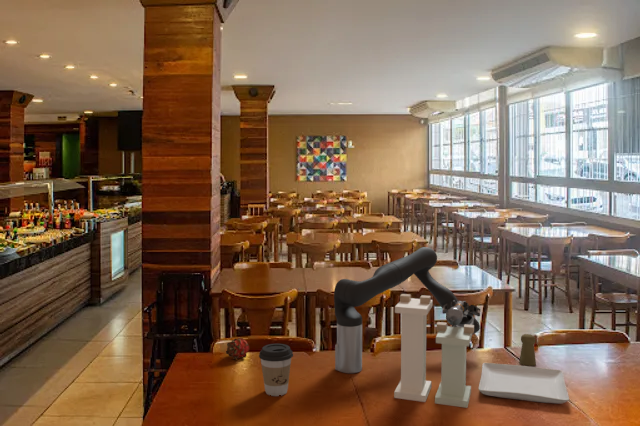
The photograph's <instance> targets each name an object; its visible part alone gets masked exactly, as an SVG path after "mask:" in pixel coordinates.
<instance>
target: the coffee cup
mask: <svg viewBox="0 0 640 426" xmlns="http://www.w3.org/2000/svg"><path fill="white" fill-rule="evenodd" d="M258 354H259V355H258V358H259V359H260V363H261V369H262V370H261V372H262V377H263V385H264V391H265V393H266V395H268V396H270V395H271V397H280V396H279V395H281V396H284V395H286V394H287V393H288V390H289V381H290V372H291V365H292V363H291V362H292V358H293V357H294V352H293V350H292V349H291V347H290V346H289V345H288V344H285V343H269V344H266V345H264V346H263V347H261V350H260V351H259V353H258Z"/></svg>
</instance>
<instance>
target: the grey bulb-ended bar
mask: <svg viewBox="0 0 640 426" xmlns="http://www.w3.org/2000/svg"><path fill="white" fill-rule="evenodd" d="M463 303H464V301H463V300H458V302H457V303H456V305H455V306H454V307H451V308H450V309H449V310H448V312H447V314H446V313H445V320H446V321H447V322H446V323H447V324H450V325H451V326H452V325H458V324H460V323H461V321H462V318H463V310H464V308H463Z"/></svg>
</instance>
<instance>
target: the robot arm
mask: <svg viewBox="0 0 640 426" xmlns="http://www.w3.org/2000/svg"><path fill="white" fill-rule="evenodd" d="M437 261H438V255H437V252H436V251H435V250H434V249H433V248H432V247H427V246H422V247H420V248H418V249H416V250H415V251H414V252H412V253H410V254H408V255H406V256H404V257H401V258H398V259H395V260H393V261H391V262H388V263H385V264H383V265H381V266H378V267H377V269H375V271H374V272H373V275H372V277H370V278H367V279H364V280H361V281H360V280H359V281H358V280H353V279H348V278H342V279H340V280H338V281H337V283H336V284H335V285H334V286H335V287H334V290H333V291H334V292H333V302H334V303H333V304H334V314H335V315H334V316H335V318H336V343H335V346H334V361H335V363H334V365H335V366H334V367H335V368H334V369H335V371H339V372H340V373H344V374H356V373H359V372H361V371H362V370H363V316H362V315H361V314H360V313H359V312H358V311H357V310H356V308H357V307H360V306H362V305H364V304H366V303H367V302H368V301H370V300H371V299H373V298H374V297H376V296H377V295H380V294H382V293H384V292H386V291H388V290H390V289H393V288H394V287H396V286H399V285H401V284H402V283H404V282H405V281H406V280H408V279H409V278H410V277H412V276H413V275H415V277H416V278H417V279H418V280H419V282H420V283H422V284H423V286H424V287H425V288H426V289H427V290H428V291H429V292H430V293H431V294H432V296H433V297H434V299H436V301H437V303H438V304H439V305H440V307H441V308H442V311H441V313H442V314H444V315H446V314H447V312H448V310H449V309H450V308H451V307H454V306H455V305H456V303H457V302H458V301H459V299H458V298H457V296H456V295H455V294H454V292H452V290H451V289H449V288H448V287H446V286H445V285H443V284H441V283H439V281H437V280H436V279H434V277H433V276H432V275H431V273H430V270H431V269H432V268H433V267H434V266H435V265H436V263H437ZM463 302H464V303H463V308H464V310H463V318H462V321H461V323H460V324H458V325H451V327H462V328H464V325H465V324H467V325H474V333H473V334H472V336H473V335H474V334H476V333H478V332H479V331H480V329H481V327H480V326H481V325H480V322H479V321H478V320H477V319H476V318H475V317H474V316H476V317H481V308H480V307H478V306H476V305H474V304H470V305H469V303H468V302H467V301H466V300H463ZM355 307H356V308H355Z"/></svg>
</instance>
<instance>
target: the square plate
mask: <svg viewBox="0 0 640 426" xmlns="http://www.w3.org/2000/svg"><path fill="white" fill-rule="evenodd" d="M480 375H481V376H480V380H479V385H478V391H479V392H480V393H481V394H483V395H485V396H490V397H497V398H503V399H510V400H512V399H513V400H520V401H526V402H534V403H545V404H559V405H560V404H564V403H567V402H568V401H570V396H569V392H568V389H567V386H566V381H565V375H564V371H563V370H561V369H553V368H546V367H537V366H525V365H520V364H519V365H517V364H505V363H493V362H483V363H482V366H481V374H480Z"/></svg>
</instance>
